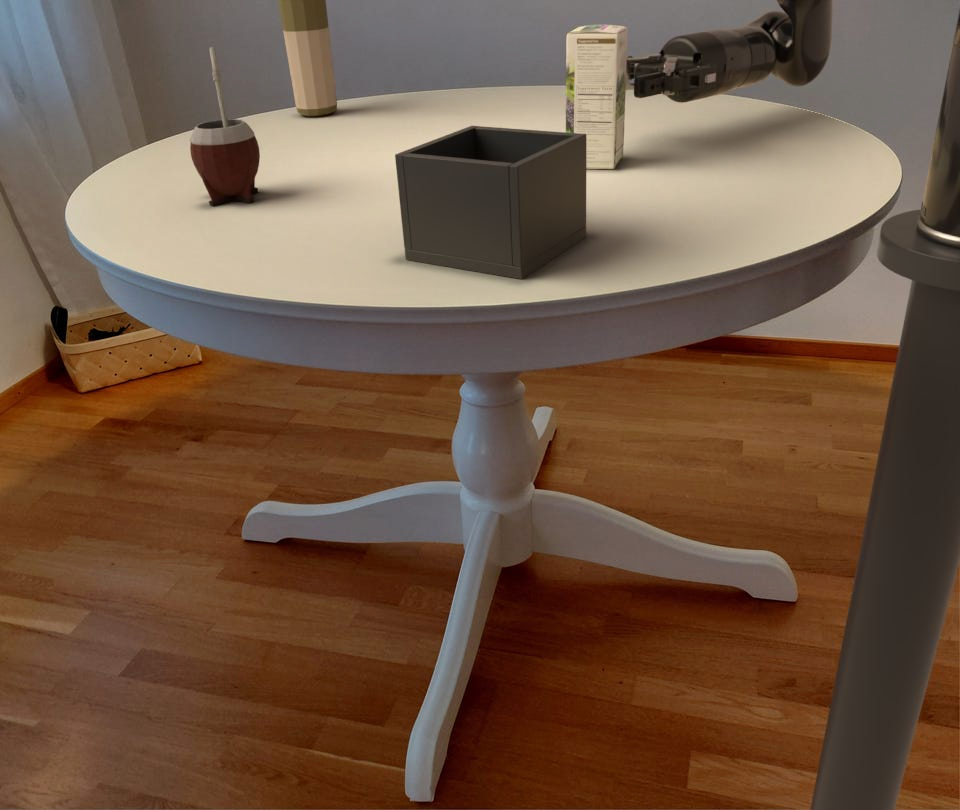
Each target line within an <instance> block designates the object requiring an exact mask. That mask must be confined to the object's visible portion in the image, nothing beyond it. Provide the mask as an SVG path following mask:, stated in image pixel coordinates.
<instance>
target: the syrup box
mask: <svg viewBox="0 0 960 810" xmlns="http://www.w3.org/2000/svg"><path fill="white" fill-rule="evenodd" d="M628 31H629V27H627V26H623V25H616V24H588V25H583V26H577V28H575V29H573V30H571V31H569V32H568V33H567V34H566V42H565V43H566V45H565V46H566V52H565V54H566V56H565V57H566V58H565V59H566V60H565V132H566V133H577V134H579V133H580V134H586V170H587V169H593V170H598V169H599V170H601V169H602V170H603V169H604V170H605V169H606V170H607V169H608V170H614V169H615V168H616V167H617V165H618V164H619V163H620V161H621V160H622V159H623V156H624V145H625V142H624V141H625V114H626V93H627V92H626V91H627V90H626V65H627V57H628V34H629V33H628Z"/></svg>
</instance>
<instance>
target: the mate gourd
mask: <svg viewBox="0 0 960 810" xmlns="http://www.w3.org/2000/svg"><path fill="white" fill-rule="evenodd" d="M209 54H210V61H211V68H212V72H211V74H212V80H213V82H214V84H215V89H216V94H217V100H218V105H219V111H220V115H221V119H216V120H211V121H205V122H201V123H199V124H196V126H195V127H194V128H193V130H192V133H191V135H190V139H189V142H190V151H189V152H190V159H191V160H192V163H193V165H194V168H195V170H196V172H197V173H198V175H199V177H200V178H201V180H202V183H203V185H204V187H205V189H206V191H207V193H208V195H209V197H210V199H211V200H209V201H208V204H209V206H210V207H217V206H219V205H222V204H226V203H229V202H232V201H236V202H240V203H245V204H251V203H255V197H253V196H252V195H255V194H258V193H259V188H258V187H256V185H255V184H256V183H255V182H256V177H257V174H258V171H259V166H260V157H261V156H260V155H261V154H260V147H259V143H258V140H257V138H256V135H255V131H254V130H253V129H252V128H251V126H250V125H249V123H248V122H246V121H244V120H243V119H238V118H237V119H236V118H228V114H227V109H226V105H225V99H224V94H223V93H224V92H223V88H222V76H221V72H220V71H219V66H218V61H217V54H216V49H215V47H214V46H210V47H209Z"/></svg>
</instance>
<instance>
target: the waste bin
mask: <svg viewBox="0 0 960 810" xmlns="http://www.w3.org/2000/svg"><path fill="white" fill-rule="evenodd" d="M394 157H395V158H394V160H395V170H396V179H397V189H398V199H399V205H400V206H399V208H400V219H401V228H402V229H401V230H402V237H403V246H404V247H403V248H404V255H405V256H404V257H405V260H406V261H412V262H418V263H424V264H430V265H435V266H442V267H448V268H452V269H460V270H465V271H470V272H471V271H472V272H478V273H483V274H489V275H494V276H501V277H506V278H512V279H519V280H523V279H524V278H526V277H527V276H529V275H530V274H532V273H533V272H535V271H537V270H538V269H539V268H541V267H543V266H544V265H545V264H548V263H549V262H550V261H551V260H553V259H555V258H556V257H558V256H559V255H561V254H562V253H563V252H566V251H567V250H568V249H570V248H572V247H573V246H574V245H576V244H577V243H579V242H580V241H582V240H583V239H584V238H586V237H587V169H586V134H580V133H579V134H577V133H566V131H565V132H562V131H551V130H537V129H524V128H511V127H510V128H509V127H495V126H482V125H480V126H479V125H470V126H467V127H464V128H462V129H458V130H456V131H454V132H452V133H447V134H446V135H444V136H441V137H438V138H435V139H432V140H430V141H427V142H425V143H422V144H419V145H416V146H414V147H411V148H409V149H406V150H403V151H401V152H398V153H395V154H394Z"/></svg>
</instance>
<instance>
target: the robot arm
mask: <svg viewBox="0 0 960 810" xmlns="http://www.w3.org/2000/svg"><path fill="white" fill-rule="evenodd" d="M775 1H776V3H777V5H778V6H779V7H780V8H781V10H770V11H767V12H765V13H763V14H761V15H759V17H757V18H756V19H754V20H752V21H751V22H749V23H748V24H746V25H744V26H742V27H737V28H731V29H712V30H705V31H700V32H699V31H698V32H694V33H688V34H682V35H677V36H674V37H672V38H670V39H669V40H667V41H666V42H665V44H664V45H663V47H662V48H661V50H660V52H659V53H652V54H651V53H650V54H649V53H648V54H646V55H644V56H639V57H635V56H632V55H627V65H626V91H631V90H632V91H633V96H634V97H635V98H638V99H644V98H648V97H653V96H658V95H663V96H666V98H668V99H669V100H671V101H672V102H675V103H681V104H683V103H688V102H692V101H693V102H694V101H698V100H701V99H702V100H703V99H707V98H711V97H715V96H719V95H722V94H725V93H728V92H729V91H732V90H736V89H741V88H745V87H749V86H752V85H757V84H759V83H760V82H762V81H764V80H765V79H766V78H767V77H769V75H770V74H771V75H772V76H774V77H776V78H778V79H779V80H780V81H782V82H784V83H785V84H787V85H789V86H792V87H803V86H806V85H808V84H810V83H812V82H813V81H814V80H815V79H817V78H818V76H819V75H820V74H821V73H822V71H823V70H824V68H825V66H826V64H827V62H828V59H829V56H830V53H831V48H832V41H833V16H834V0H775ZM946 71H947V72H946V77H945V81H944V87H943V92H942V96H941V97H942V98H941V103H940V108H939V114H938V119H937V124H936V128H935V129H936V130H935V135H934V140H933V144H932V145H933V146H932V151H931V155H930V161H929V162H930V163H929V166H928V172H927V177H926V182H925V188H924V193H923V198H922V200H921V201H922V202H921V206H920V209H921V214H920V215H919V217H918V223H917V228H916V230H917V232H918V233H919V234H920V235H921V236H922V237H924V238H925V239H927V240H929V241H932V242H934V243H937V244H940V245H943V246H947V247H951V248H956V249H960V7H959V8H958V14H957V19H956V23H955V30H954V34H953V39H952V45H951V50H950V55H949V60H948V67H947V70H946ZM632 80H634V81H633V83H630V81H632Z"/></svg>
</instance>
